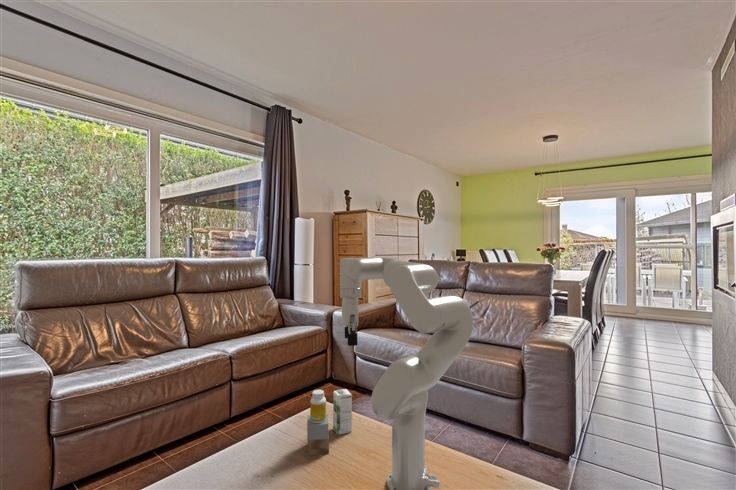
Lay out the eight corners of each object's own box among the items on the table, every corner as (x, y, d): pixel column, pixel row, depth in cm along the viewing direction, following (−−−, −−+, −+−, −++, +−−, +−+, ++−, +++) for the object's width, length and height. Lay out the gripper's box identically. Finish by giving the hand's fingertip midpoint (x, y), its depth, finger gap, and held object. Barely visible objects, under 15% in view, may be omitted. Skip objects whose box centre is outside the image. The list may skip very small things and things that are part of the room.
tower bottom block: (327, 442, 130) (327, 428, 130) (329, 453, 123) (328, 438, 123) (307, 444, 129) (307, 430, 129) (307, 455, 122) (307, 440, 122)
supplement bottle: (323, 424, 122) (323, 395, 122) (308, 422, 124) (308, 394, 123) (328, 416, 128) (328, 389, 128) (313, 415, 129) (313, 388, 129)
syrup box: (332, 428, 139) (332, 390, 139) (346, 425, 142) (346, 388, 142) (337, 435, 134) (337, 396, 134) (352, 432, 137) (352, 393, 137)
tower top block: (327, 428, 130) (327, 414, 130) (328, 438, 123) (328, 424, 123) (307, 429, 129) (307, 415, 129) (307, 440, 122) (307, 425, 122)
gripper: (337, 290, 136) (337, 336, 136) (342, 296, 119) (342, 349, 119) (357, 289, 137) (357, 335, 137) (365, 296, 120) (365, 348, 120)
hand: (350, 341), depth 128 cm, fingers open, 9 cm apart
